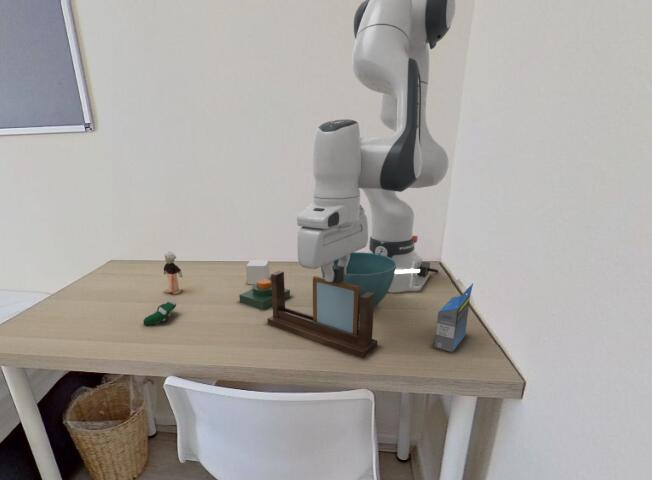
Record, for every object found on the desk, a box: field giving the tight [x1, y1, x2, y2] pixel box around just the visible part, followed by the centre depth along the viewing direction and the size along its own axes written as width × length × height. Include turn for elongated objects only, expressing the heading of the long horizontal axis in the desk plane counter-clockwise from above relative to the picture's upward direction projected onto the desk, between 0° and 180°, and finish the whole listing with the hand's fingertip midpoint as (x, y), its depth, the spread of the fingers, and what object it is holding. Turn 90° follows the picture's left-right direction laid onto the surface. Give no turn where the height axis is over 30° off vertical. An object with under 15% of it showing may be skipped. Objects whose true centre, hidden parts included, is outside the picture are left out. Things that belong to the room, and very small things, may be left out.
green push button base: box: [238, 283, 291, 311], centre depth 109 cm, size 11×9×4 cm
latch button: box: [258, 279, 271, 289], centre depth 108 cm, size 4×4×2 cm
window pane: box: [312, 265, 360, 335], centre depth 83 cm, size 2×11×15 cm, turn 48°
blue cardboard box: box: [433, 283, 474, 353], centre depth 81 cm, size 9×4×12 cm, turn 140°
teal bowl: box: [320, 251, 396, 315], centre depth 100 cm, size 18×18×12 cm
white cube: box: [245, 259, 271, 285], centre depth 123 cm, size 6×6×6 cm
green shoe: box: [143, 298, 177, 326], centre depth 100 cm, size 9×4×6 cm
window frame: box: [266, 270, 379, 359], centre depth 87 cm, size 6×26×12 cm, turn 48°
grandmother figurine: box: [162, 251, 183, 295], centre depth 116 cm, size 8×4×13 cm, turn 68°
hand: (335, 278), depth 81 cm, fingers closed on window pane, 2 cm apart
